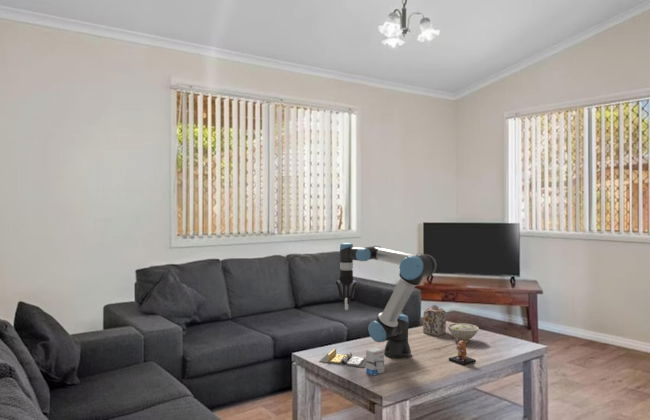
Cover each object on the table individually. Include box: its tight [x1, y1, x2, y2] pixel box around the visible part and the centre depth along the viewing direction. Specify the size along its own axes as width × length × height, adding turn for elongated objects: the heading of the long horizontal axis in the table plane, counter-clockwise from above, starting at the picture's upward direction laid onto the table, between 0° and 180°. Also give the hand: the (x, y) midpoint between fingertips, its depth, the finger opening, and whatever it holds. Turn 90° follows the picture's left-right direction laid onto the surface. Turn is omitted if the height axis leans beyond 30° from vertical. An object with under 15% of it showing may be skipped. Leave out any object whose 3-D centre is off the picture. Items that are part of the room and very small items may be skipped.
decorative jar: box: [422, 304, 447, 337], centre depth 322 cm, size 12×12×18 cm
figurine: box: [448, 339, 477, 367], centre depth 264 cm, size 10×10×12 cm
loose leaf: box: [327, 348, 349, 364], centre depth 264 cm, size 10×12×4 cm
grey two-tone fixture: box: [318, 353, 366, 369], centre depth 263 cm, size 25×14×1 cm, turn 70°
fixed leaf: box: [341, 351, 365, 366], centre depth 261 cm, size 10×13×3 cm
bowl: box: [446, 322, 479, 343], centre depth 304 cm, size 19×19×10 cm
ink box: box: [365, 346, 385, 376], centre depth 246 cm, size 9×5×12 cm, turn 129°
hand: (346, 309), depth 285 cm, fingers closed
